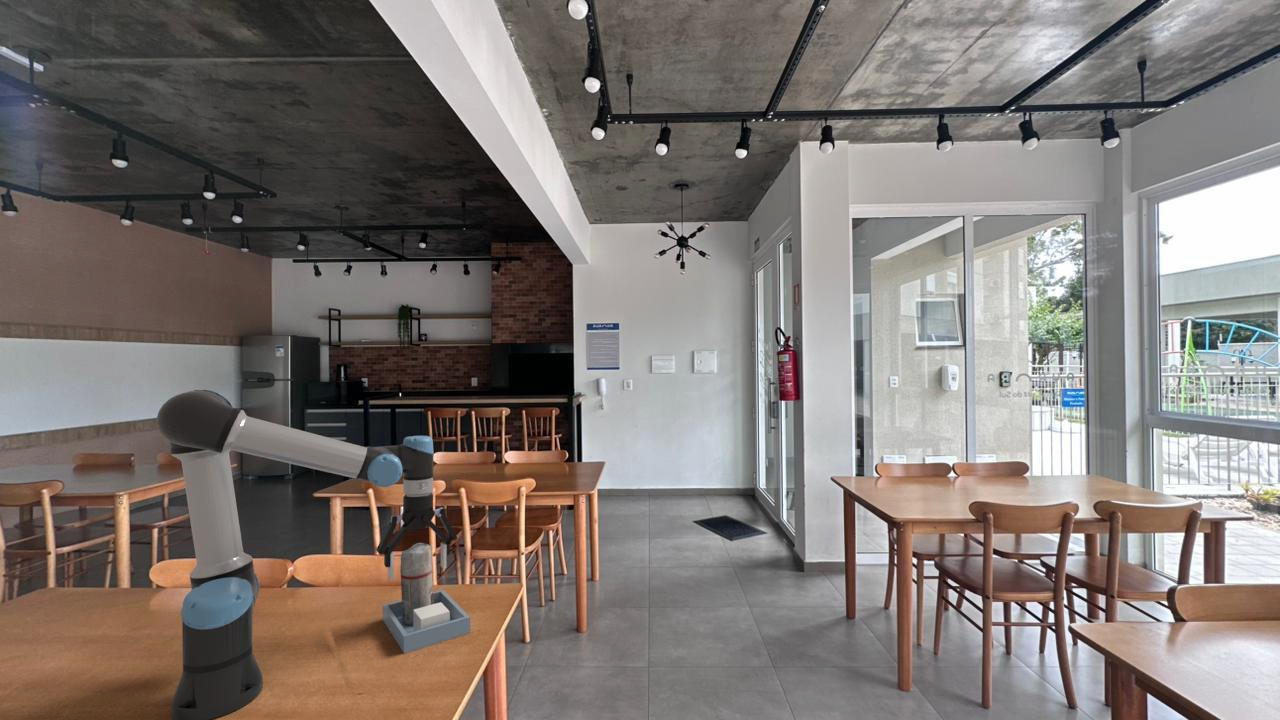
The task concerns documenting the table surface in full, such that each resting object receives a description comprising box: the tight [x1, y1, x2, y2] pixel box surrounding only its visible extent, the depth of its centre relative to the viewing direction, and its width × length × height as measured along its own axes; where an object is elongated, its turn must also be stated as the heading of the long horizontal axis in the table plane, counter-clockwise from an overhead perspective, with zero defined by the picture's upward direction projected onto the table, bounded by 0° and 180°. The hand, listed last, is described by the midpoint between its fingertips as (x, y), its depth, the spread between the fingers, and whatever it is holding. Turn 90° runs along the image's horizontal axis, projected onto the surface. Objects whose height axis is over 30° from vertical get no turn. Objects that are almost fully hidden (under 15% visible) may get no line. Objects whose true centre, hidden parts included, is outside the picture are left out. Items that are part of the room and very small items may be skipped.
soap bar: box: [413, 602, 450, 632], centre depth 140 cm, size 7×7×6 cm
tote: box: [382, 589, 471, 654], centre depth 144 cm, size 16×22×5 cm
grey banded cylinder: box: [399, 542, 434, 626], centre depth 148 cm, size 8×8×20 cm
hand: (417, 572), depth 148 cm, fingers open, 13 cm apart
